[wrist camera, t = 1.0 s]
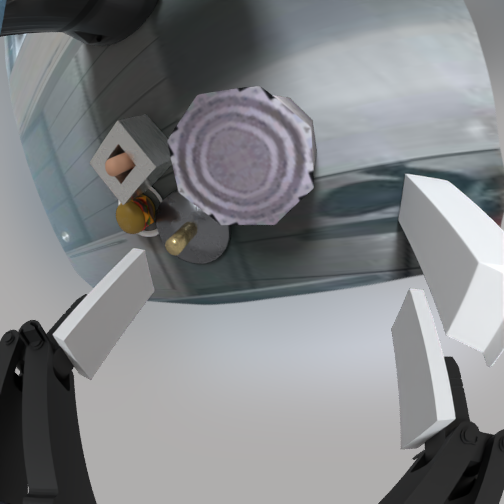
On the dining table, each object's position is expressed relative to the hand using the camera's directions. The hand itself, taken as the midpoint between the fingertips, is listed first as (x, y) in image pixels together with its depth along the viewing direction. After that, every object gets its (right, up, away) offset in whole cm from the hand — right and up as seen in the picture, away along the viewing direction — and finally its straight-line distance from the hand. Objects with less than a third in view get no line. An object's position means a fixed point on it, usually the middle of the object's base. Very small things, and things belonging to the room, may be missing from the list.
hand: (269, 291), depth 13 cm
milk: (+20, +8, +15) cm, 26 cm away
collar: (-15, +15, +21) cm, 30 cm away
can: (+1, +15, +17) cm, 22 cm away
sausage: (-15, +15, +21) cm, 30 cm away
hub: (-9, +5, +25) cm, 27 cm away
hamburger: (-17, +9, +26) cm, 32 cm away
